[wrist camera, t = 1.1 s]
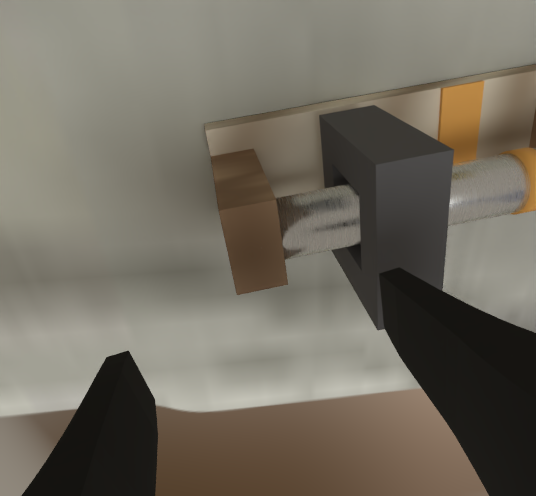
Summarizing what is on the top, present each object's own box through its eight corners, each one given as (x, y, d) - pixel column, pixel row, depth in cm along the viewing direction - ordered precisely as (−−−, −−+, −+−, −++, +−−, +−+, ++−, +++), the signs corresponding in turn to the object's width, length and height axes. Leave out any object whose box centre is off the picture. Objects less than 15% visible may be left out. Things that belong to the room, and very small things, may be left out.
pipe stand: (563, 59, 22) (716, 83, 15) (541, 172, 25) (661, 231, 18) (204, 123, 20) (211, 178, 14) (227, 234, 23) (242, 320, 17)
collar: (374, 105, 18) (454, 149, 13) (375, 236, 22) (440, 316, 16) (319, 115, 18) (376, 164, 13) (329, 245, 21) (377, 330, 16)
